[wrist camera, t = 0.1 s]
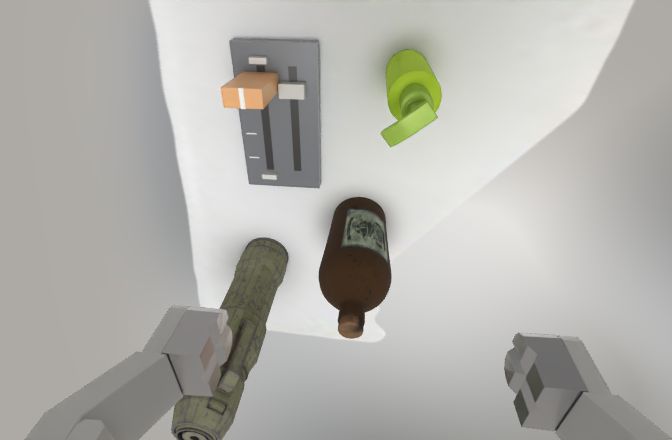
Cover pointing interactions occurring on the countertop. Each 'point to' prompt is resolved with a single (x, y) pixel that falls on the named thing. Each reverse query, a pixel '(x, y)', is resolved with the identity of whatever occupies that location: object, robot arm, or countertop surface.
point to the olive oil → (356, 263)
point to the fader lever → (250, 90)
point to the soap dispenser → (410, 95)
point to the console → (282, 113)
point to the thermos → (236, 342)
